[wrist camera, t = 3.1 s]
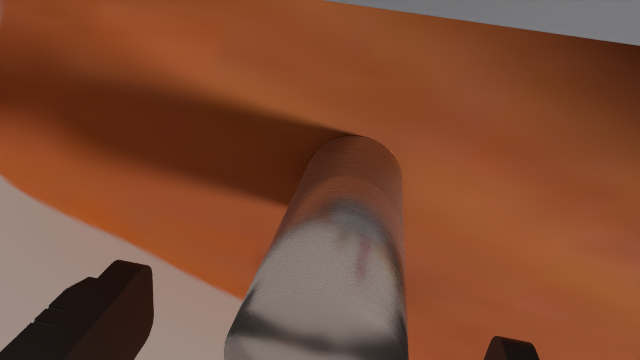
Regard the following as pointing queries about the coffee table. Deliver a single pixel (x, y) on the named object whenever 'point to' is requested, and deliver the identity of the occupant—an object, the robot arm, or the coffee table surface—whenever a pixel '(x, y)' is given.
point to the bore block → (534, 15)
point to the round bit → (332, 265)
